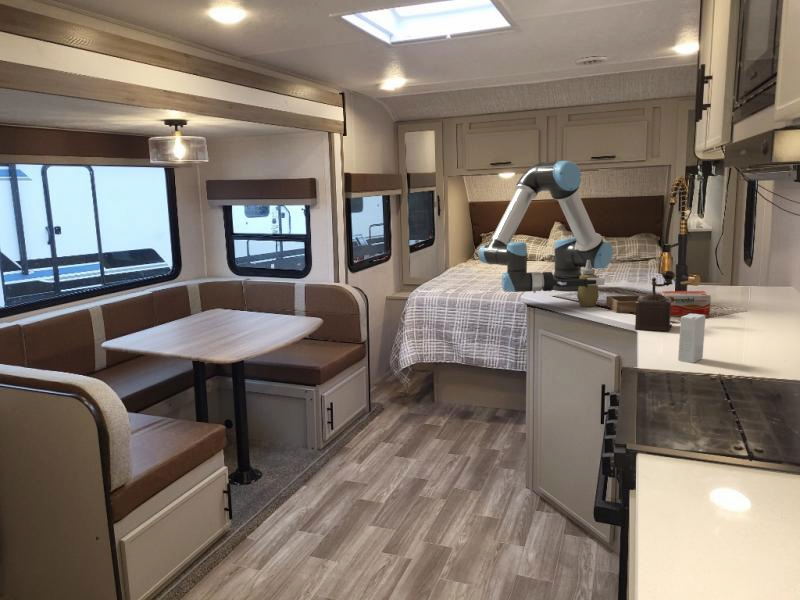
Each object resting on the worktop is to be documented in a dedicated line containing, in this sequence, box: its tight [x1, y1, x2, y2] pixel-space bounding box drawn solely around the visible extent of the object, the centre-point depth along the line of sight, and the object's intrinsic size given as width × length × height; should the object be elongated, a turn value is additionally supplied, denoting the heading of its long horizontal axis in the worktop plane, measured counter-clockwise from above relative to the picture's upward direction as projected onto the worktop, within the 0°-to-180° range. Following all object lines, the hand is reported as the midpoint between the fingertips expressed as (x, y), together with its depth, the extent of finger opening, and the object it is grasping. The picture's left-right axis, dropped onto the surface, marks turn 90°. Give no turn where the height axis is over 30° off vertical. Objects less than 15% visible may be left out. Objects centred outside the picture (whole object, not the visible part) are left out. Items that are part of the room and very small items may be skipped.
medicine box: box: [660, 290, 712, 318], centre depth 222 cm, size 15×8×8 cm, turn 79°
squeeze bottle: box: [576, 260, 600, 308], centre depth 242 cm, size 8×8×18 cm
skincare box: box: [677, 314, 706, 364], centre depth 165 cm, size 6×4×12 cm
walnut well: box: [605, 294, 644, 314], centre depth 234 cm, size 13×13×4 cm
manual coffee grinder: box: [634, 270, 676, 333], centre depth 204 cm, size 16×11×18 cm
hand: (601, 280), depth 242 cm, fingers closed on squeeze bottle, 6 cm apart
